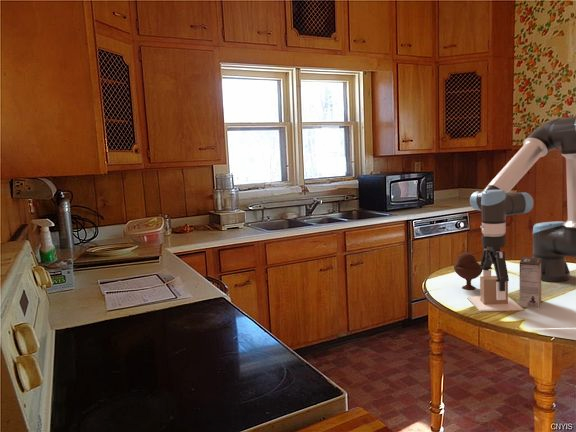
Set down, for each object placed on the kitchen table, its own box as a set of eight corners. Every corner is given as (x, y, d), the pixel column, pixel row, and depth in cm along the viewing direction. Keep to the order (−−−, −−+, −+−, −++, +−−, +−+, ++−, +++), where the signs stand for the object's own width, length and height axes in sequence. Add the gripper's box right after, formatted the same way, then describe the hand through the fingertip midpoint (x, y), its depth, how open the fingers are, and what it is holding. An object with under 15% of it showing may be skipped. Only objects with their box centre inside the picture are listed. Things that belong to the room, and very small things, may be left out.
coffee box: (521, 299, 158) (521, 256, 156) (541, 301, 155) (542, 257, 153) (519, 307, 150) (519, 262, 148) (540, 310, 147) (540, 263, 145)
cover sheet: (506, 296, 161) (506, 271, 159) (523, 310, 147) (523, 282, 146) (467, 298, 162) (467, 273, 161) (479, 311, 148) (479, 284, 147)
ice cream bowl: (487, 293, 167) (486, 255, 165) (456, 293, 170) (455, 255, 168) (480, 285, 178) (480, 249, 176) (451, 285, 180) (451, 249, 178)
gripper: (471, 228, 164) (471, 283, 167) (495, 242, 139) (495, 305, 142) (491, 227, 163) (492, 282, 166) (519, 240, 139) (519, 304, 141)
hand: (493, 293), depth 154 cm, fingers open, 13 cm apart
